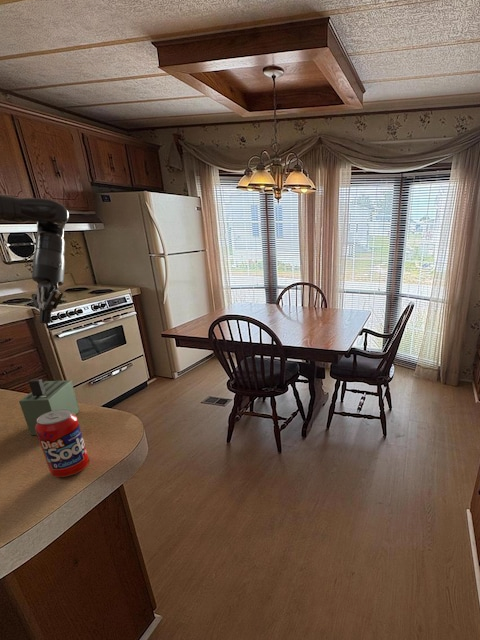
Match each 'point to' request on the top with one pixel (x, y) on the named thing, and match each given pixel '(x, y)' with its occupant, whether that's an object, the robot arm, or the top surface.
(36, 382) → the slider
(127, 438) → the top surface
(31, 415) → the toaster
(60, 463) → the soda can
